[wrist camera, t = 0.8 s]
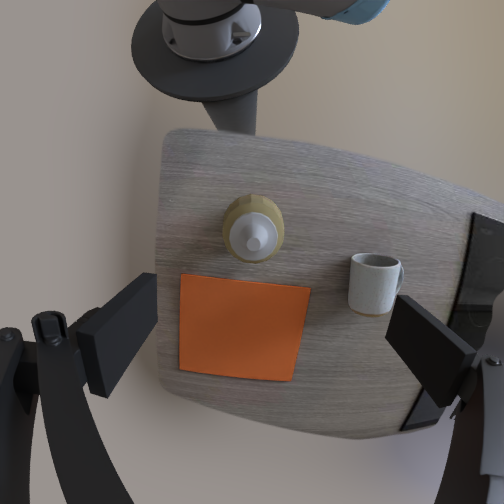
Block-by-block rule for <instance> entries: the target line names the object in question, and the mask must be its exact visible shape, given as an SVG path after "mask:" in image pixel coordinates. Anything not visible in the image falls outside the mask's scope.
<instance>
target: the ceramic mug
mask: <svg viewBox="0 0 504 504" xmlns="http://www.w3.org/2000/svg"><path fill="white" fill-rule="evenodd" d="M403 278H404V269H403V267H402V266H401V264H400V261H399V260H398V259H396V258H393V257H391V256H387V255H382V254H373V253H361V254H356V255H353V256H352V258H351V267H350V281H349V292H348V303H349V307H350V308H351V310H352V311H354V312H355V313H357V314H359V315H362V316H366V317H380V316H383V315H386V314H387V313H388V312H389V311H390V309H391V307H392V305H393V301H394V297H395V295H396V294H397V293H398V291H399V289H400V288H401V285H402V282H403Z"/></svg>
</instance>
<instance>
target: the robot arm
mask: <svg viewBox="0 0 504 504" xmlns="http://www.w3.org/2000/svg"><path fill="white" fill-rule="evenodd" d="M389 1H390V0H157V2H158V4H159V6H160V7H161V9H162V11H163V23H162V33H163V38H164V40H165V43H166V44H167V46H168V47H169V49H170V50H171V51H172V52H173V53H174V54H175V55H177V56H178V57H180V58H182V59H184V60H187V61H190V62H196V63H214V62H220V61H224V60H227V59H230V58H233V57H235V56H237V55H239V54H241V53H242V52H244V51H245V50H247V49H248V48H249V47H250V46H251V45H252V44H253V43H254V42H255V40H256V39H257V37H258V35H259V33H260V29H261V14H260V11H259V8H258V6H257V5H261V6H268V7H275V8H281V9H286V10H292V11H297V12H302V13H306V14H311V15H315V16H319V17H321V18H322V19H325V20H331V19H332V20H337V21H341V22H344V23H348V24H354V25H359V24H363V23H366V22H369V21H371V20H372V19H374V18H375V17H376V16H377V15H378V14H380V13H381V11H382V10H383V9H384V8H385V7H386V5H387V4H388V3H389ZM157 322H158V316H157V274H151V273H142V274H141V275H140V276H139V277H137V278H136V279H135V280H134V281H132V282H131V283H130V284H129V285H127V287H125V288H124V289H123V290H122V291H120V292H119V293H118V294H117V295H116V296H115V297H114V298H112V299H111V300H110V301H109V302H107V303H106V304H105V305H104V306H103V307H102V308H98V307H97V308H94V309H92V310H89V311H87V312H86V313H85V314H84V315H83V316H82V317H80V318H79V319H78V320H77V322H74V323H73V324H72V325H71V326H70V327H68V328H67V323H66V318H65V316H64V314H62V313H61V312H57V311H45V312H41V313H39V314H36V315H35V316H34V317H33V318H32V320H31V323H32V327H33V332H34V336H35V339H36V342H29V341H23V337H22V334H21V332H20V330H19V329H17V328H8V327H6V328H2V329H0V504H30V494H29V483H30V482H29V481H30V458H31V446H32V436H33V428H34V420H35V414H36V408H37V403H38V397H39V395H40V398H41V405H42V412H43V418H44V423H45V429H46V434H47V438H48V443H49V447H50V451H51V455H52V459H53V463H54V466H55V470H56V473H57V476H58V479H59V483H60V486H61V489H62V491H63V494H64V497H65V500H66V502H67V504H134V502H133V501H132V499H131V497H130V496H129V494H128V492H127V491H126V489H125V487H124V485H123V483H122V481H121V480H120V478H119V476H118V474H117V472H116V470H115V468H114V466H113V464H112V462H111V460H110V458H109V455H108V453H107V451H106V449H105V447H104V445H103V442H102V440H101V438H100V435H99V432H98V430H97V428H96V425H95V422H94V420H93V417H92V414H91V412H90V409H89V406H88V403H87V400H86V397H85V394H84V391H83V386H84V385H85V384H86V382H87V383H88V386H89V390H90V393H91V394H95V395H98V396H101V397H105V398H107V399H108V397H109V396H110V394H111V392H112V391H113V389H114V387H115V386H116V384H117V383H118V381H119V380H120V378H121V377H122V375H123V373H124V372H125V370H126V369H127V367H128V366H129V364H130V362H131V361H132V359H133V358H134V356H135V355H136V353H137V352H138V350H139V349H140V347H141V346H142V344H143V343H144V341H145V340H146V338H147V337H148V335H149V334H150V332H151V331H152V329H153V328H154V326H155V325H156V323H157ZM385 339H386V340H387V341H388V342H389V343H390V345H391V346H392V347H393V348H394V350H395V351H396V352H397V354H398V355H399V356H400V357H401V359H402V360H403V361H404V362H405V364H406V365H407V366H408V368H409V369H410V370H411V371H412V373H413V374H414V375H415V377H416V378H417V379H418V381H419V382H420V383H421V385H422V386H423V387H424V389H425V390H426V391H427V393H428V394H429V395H430V397H431V398H432V399H433V401H434V402H435V403H436V405H437V406H438V407H439V408H442V407H446V406H450V405H451V404H452V402H453V401H454V399H455V397H456V395H457V394H458V395H459V397H460V398H461V399H460V401H459V403H458V404H457V406H456V408H455V409H454V411H453V413H452V414H451V416H450V419H452V417H453V416H454V415H456V417H455V419H454V420H455V424H454V430H453V435H452V440H451V445H450V450H449V454H448V458H447V463H446V466H445V470H444V474H443V477H442V481H441V484H440V488H439V491H438V494H437V497H436V500H435V503H434V504H504V364H503V362H502V361H501V360H500V359H498V358H497V357H495V356H491V355H484V356H482V357H480V356H479V355H478V354H477V352H476V351H475V350H474V349H473V348H472V347H471V346H469V345H468V344H467V343H466V342H465V341H464V340H462V339H461V338H460V337H459V336H458V335H456V334H455V333H454V332H453V331H452V330H450V329H449V328H448V327H447V326H446V325H444V324H443V323H442V322H441V321H439V320H438V319H437V318H436V317H434V316H433V315H432V314H431V313H429V312H428V311H427V310H426V309H424V308H423V307H422V306H421V305H419V304H418V303H417V302H416V301H414V300H413V299H412V298H410V297H409V296H408V295H397V298H396V301H395V305H394V309H393V312H392V316H391V320H390V323H389V326H388V330H387V333H386V336H385Z"/></svg>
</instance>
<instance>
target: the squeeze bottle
mask: <svg viewBox="0 0 504 504" xmlns="http://www.w3.org/2000/svg"><path fill="white" fill-rule="evenodd" d="M222 236H223V239H224V243H225V246H226V248H227V249H228V251H229V252H230V253H231V254H232V256H233V257H235V258H237V259H239V260H241V261H242V262H246V263H254V264H256V263H260V262H264V261H267V260H269V259H270V258H271V257H273V256H274V255H275V254H277V252H278V250H279V249H280V247H281V245H282V244H283V238H284V222H283V218H282V215H281V211H280V210H279V209H278V207H277V206H276V205H275V203H274V202H273V201H271V200H269V199H268V198H266V197H264V196H260V195H252V194H250V195H247V196H243V197H239V198H238V199H237V200H236V201H234V202H233V203H232V204H230V206H229V207H228V209H227V211H226V213H225V215H224V220H223V234H222Z"/></svg>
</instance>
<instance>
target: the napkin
mask: <svg viewBox="0 0 504 504" xmlns="http://www.w3.org/2000/svg"><path fill="white" fill-rule="evenodd" d="M310 291H311V288H307V287H297V286H287V285H277V284H267V283H258V282H249V281H240V280H231V279H223V278H214V277H206V276H198V275H190V274H181V289H180V331H179V361H180V369H181V370H187V371H194V372H200V373H207V374H214V375H222V376H231V377H240V378H251V379H263V380H278V381H291V379H292V375H293V371H294V367H295V363H296V358H297V354H298V350H299V345H300V341H301V336H302V331H303V326H304V322H305V317H306V312H307V307H308V301H309V296H310Z"/></svg>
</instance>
